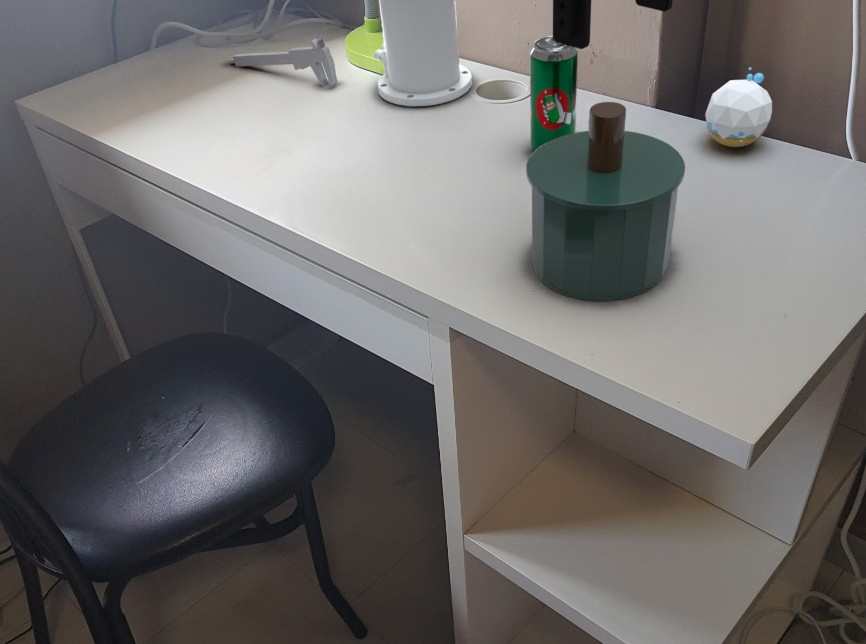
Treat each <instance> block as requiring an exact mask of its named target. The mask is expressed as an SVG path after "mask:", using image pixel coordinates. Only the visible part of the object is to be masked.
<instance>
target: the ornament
mask: <svg viewBox="0 0 866 644" xmlns="http://www.w3.org/2000/svg"><path fill="white" fill-rule="evenodd" d="M752 69H753V68H752V67H751V66H749V67H748V68H747V71H752ZM764 80H765V76H764V74H763V73H762V72H757V73H755V74H754V75H753V73H748V74H747V75H746V79H732V80H731V79H730V80H729V81H728V82H726V83H725V84H724V85H722V86H721V87H719V88H718V89H717V90H716V91H714V92H713V93H712V94H711V97H710V100H709V103H708V105H707V109H706V111H705V113H704V116H705V121H706V128H707V130H708V133H709V134H710V136H711V137H712V138H713V140H715V141H716V142H717V143H718V144H721V145H723V146H725V147H728V148H741V147H745V146H748V145H751V144H753V143H754V142H755V141H757V140H758V139H760V138H761V137H762V136H763V135H764V134H765V132H766V131H767V128H768V126H769V123H770V121H771V118H772V114H773V100H772V99H771V96H770V94H769V92H768V90H766V89H765V88H763V87H762V86H760V84H762V82H763V81H764Z"/></svg>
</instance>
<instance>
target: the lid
mask: <svg viewBox="0 0 866 644" xmlns="http://www.w3.org/2000/svg"><path fill="white" fill-rule="evenodd" d="M588 112H589V113H588V130H584V131H576V132H575V133H572V134H568V135H565V136H561V137H558V138H556V139H553V140H551V141H549V142H547V143H545V144H543V145H542V146H540V147H539V148H538V149H536V150H535V151H534V150H533V152H532V153H531V154H530V156H529V157H528V159H527V161H526V166H525V175H526V179H527V181H528V183H529V185H530V187H531V188H532V187H533V188H534V189H535V190H536V191H537V192H538V193H539V194H541V195H542V196H544V197H546V198H548V199H550V200H552V201H554V202H557V203H559V204H563V205H566V206H570V207H575V208H580V209H588V210H622V209H629V208H635V207H639V206H644V205H647V204H650V203H653V202H656V201H658V200H660V199H662V198H664V197H666V196H668V195H669V194H671V193H672V192H673V191H675V190H676V189H677V188H678V189H679V187H680V185H681V184H682V183H683V180H684V177H685V172H686V164H685V161H684V158H683V156H682V155H681V153H680V152H679V151H678V150H677V149H676V148H674V147H673V146H672V145H671V144H669V143H667V142H665V141H663V140H662V139H659V138H657V137H655V136H651V135H648V134H644V133H641V132H640V133H639V132H635V131H629V130H626V118H627V108H626V106H625V105H624V104H622V103H619V102H614V101H602V102H598V103H595V104H593V105H592V106H590V107H589V111H588Z"/></svg>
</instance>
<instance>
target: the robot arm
mask: <svg viewBox="0 0 866 644" xmlns="http://www.w3.org/2000/svg"><path fill="white" fill-rule="evenodd" d="M673 1H674V0H635V4H636V5H637V6H639V7H643V8H647V9H652V10H655V11H660V12H667V11H669V10H671V9H672V8H673ZM378 4H379V12H380V20H381V28H382V36H383V42H382V44H381V49H376V50H375V52H374V54H373V55H374V56H373V57H374V60H376V61H379V62H381V63H383V69H384V73H383V74H382V75H381V76H380V77H379V79H378V81H377V90H378V94H379V96H380V97H381V98H382V99H383V100H385V101H386V102H389V103H391V104H395V105H398V106H405V107H428V106H435V105H440V104H445V103H448V102H451V101H454V100H457V99H458V98H460V97H461V96H464V95H465V94H467V92H468V91H469V90H470V89H471V88H472V86H473V75H472V73H471V71H470V69H468V68H467V67H466V66H463V65H462V64H460V53H459V37H458V21H457V20H458V19H457V6H456V0H378ZM591 21H592V0H552V36H553V39H554V41H555V42H558V43H561V44H565V45H568V46H572V47H575V48H576V49H578V50H583V49H585V48H588V47H589V46H590V42H591Z"/></svg>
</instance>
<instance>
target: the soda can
mask: <svg viewBox="0 0 866 644" xmlns="http://www.w3.org/2000/svg"><path fill="white" fill-rule="evenodd" d="M578 53H579V52H578V50H577V48H575V47H572V46H568V45H565V44H561V43H558V42H555V41H554V39H553V35H548V36H543V37H540V38H538V39H536V40H535V41H534V42H533V48H532V50H531V51H530V53H529V77H530V78H529V89H530V90H529V93H530V94H529V95H530V96H529V97H530V98H529V100H530V103H529V105H530V108H529V109H530V147H531V149H532V150H533V152H534V151H535V150H536V149H538V148H539V147H540V146H542V145H543V144H545V143H547V142H549V141H551V140H553V139H556V138H558V137H561V136H565V135H568V134H572V133H576V127H577V126H576V125H577V122H576V121H577V91H578V90H577V89H578V61H579V60H578V58H579V57H578V56H579V54H578Z"/></svg>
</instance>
